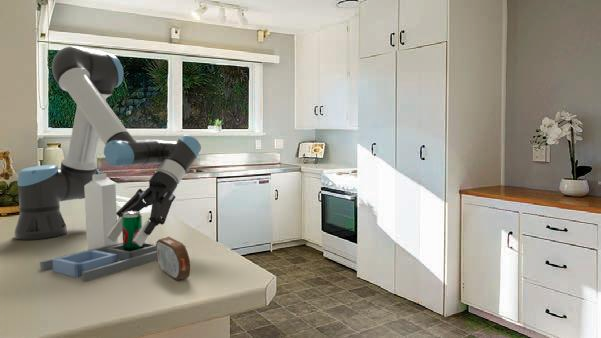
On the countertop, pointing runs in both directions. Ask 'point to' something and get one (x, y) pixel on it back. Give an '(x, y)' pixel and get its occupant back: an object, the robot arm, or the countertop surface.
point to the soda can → (131, 229)
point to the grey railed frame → (100, 261)
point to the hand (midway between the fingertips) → (123, 241)
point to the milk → (100, 211)
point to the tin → (173, 258)
